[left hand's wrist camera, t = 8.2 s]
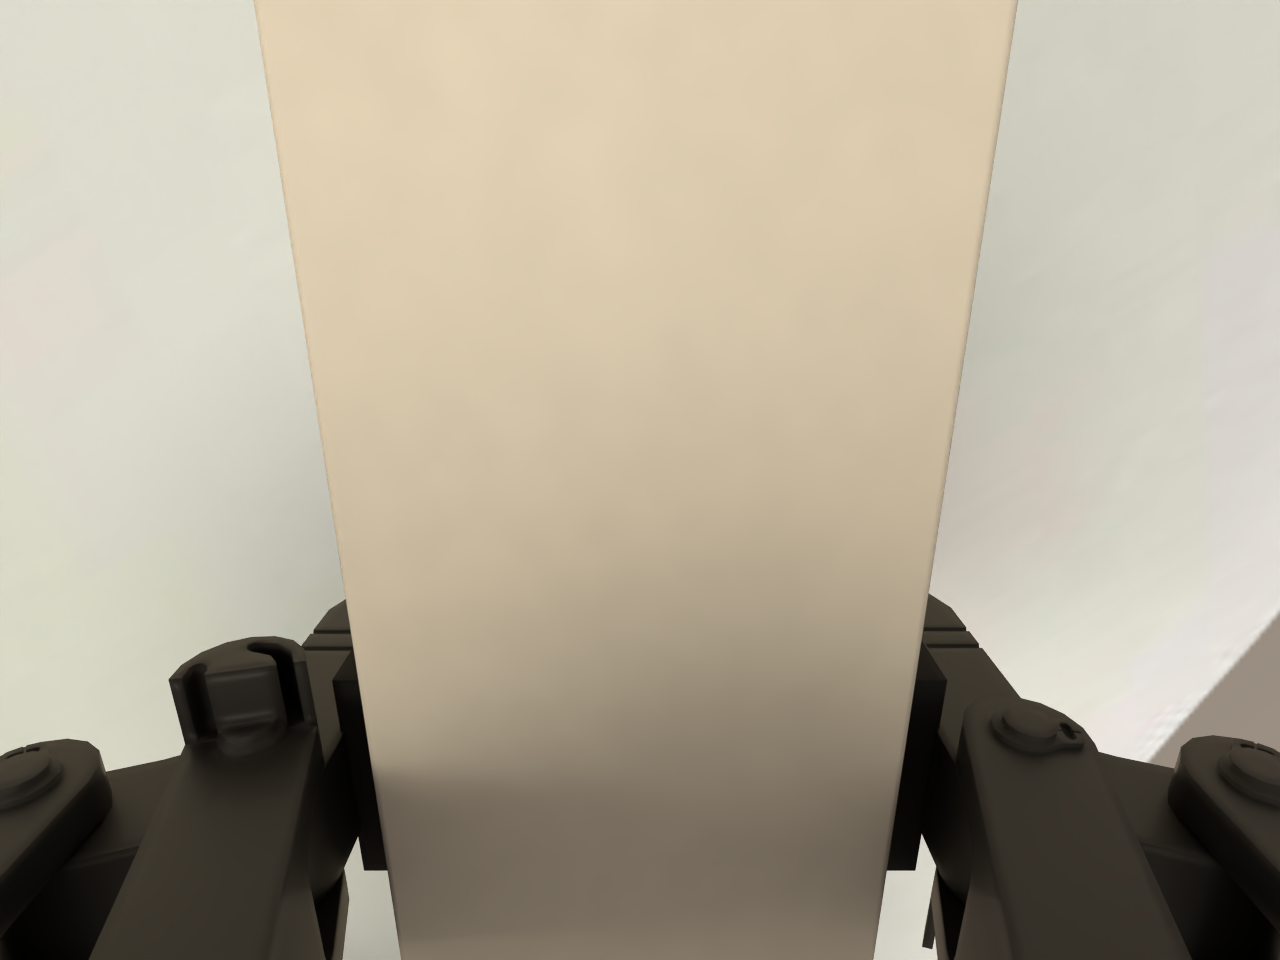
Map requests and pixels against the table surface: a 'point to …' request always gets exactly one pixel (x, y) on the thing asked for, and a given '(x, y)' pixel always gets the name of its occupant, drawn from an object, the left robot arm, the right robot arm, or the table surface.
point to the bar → (636, 442)
